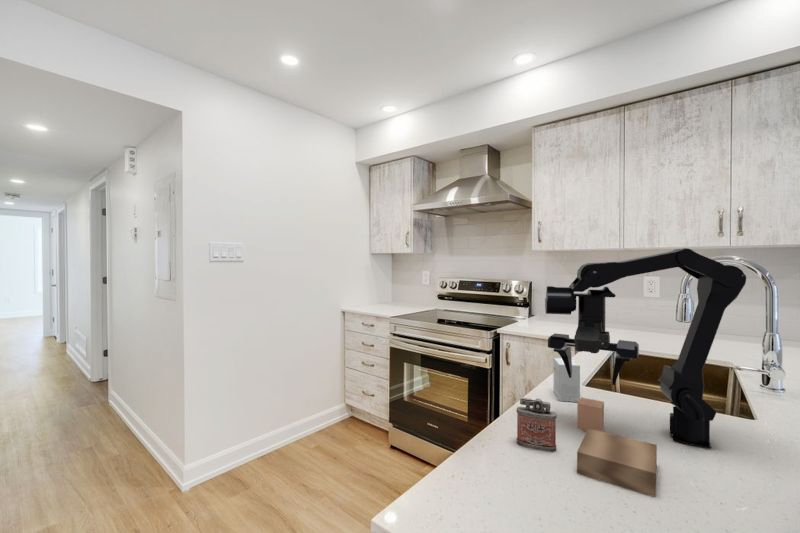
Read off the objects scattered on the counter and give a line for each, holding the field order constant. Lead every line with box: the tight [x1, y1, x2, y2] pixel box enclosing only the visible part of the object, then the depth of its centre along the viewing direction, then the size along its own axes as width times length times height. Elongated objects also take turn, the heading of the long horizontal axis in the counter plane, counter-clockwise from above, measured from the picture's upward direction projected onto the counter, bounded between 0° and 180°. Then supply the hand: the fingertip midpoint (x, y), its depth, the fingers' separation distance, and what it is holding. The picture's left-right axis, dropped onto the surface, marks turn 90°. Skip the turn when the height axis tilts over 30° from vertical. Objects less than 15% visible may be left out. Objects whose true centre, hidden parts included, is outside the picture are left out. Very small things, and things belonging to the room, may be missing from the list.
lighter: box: [515, 396, 558, 453], centre depth 79 cm, size 8×3×10 cm, turn 65°
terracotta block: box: [576, 396, 605, 432], centre depth 88 cm, size 5×5×6 cm
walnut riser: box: [576, 429, 658, 498], centre depth 70 cm, size 12×12×4 cm
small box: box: [552, 357, 581, 403], centre depth 107 cm, size 8×6×10 cm
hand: (591, 381), depth 87 cm, fingers open, 9 cm apart
